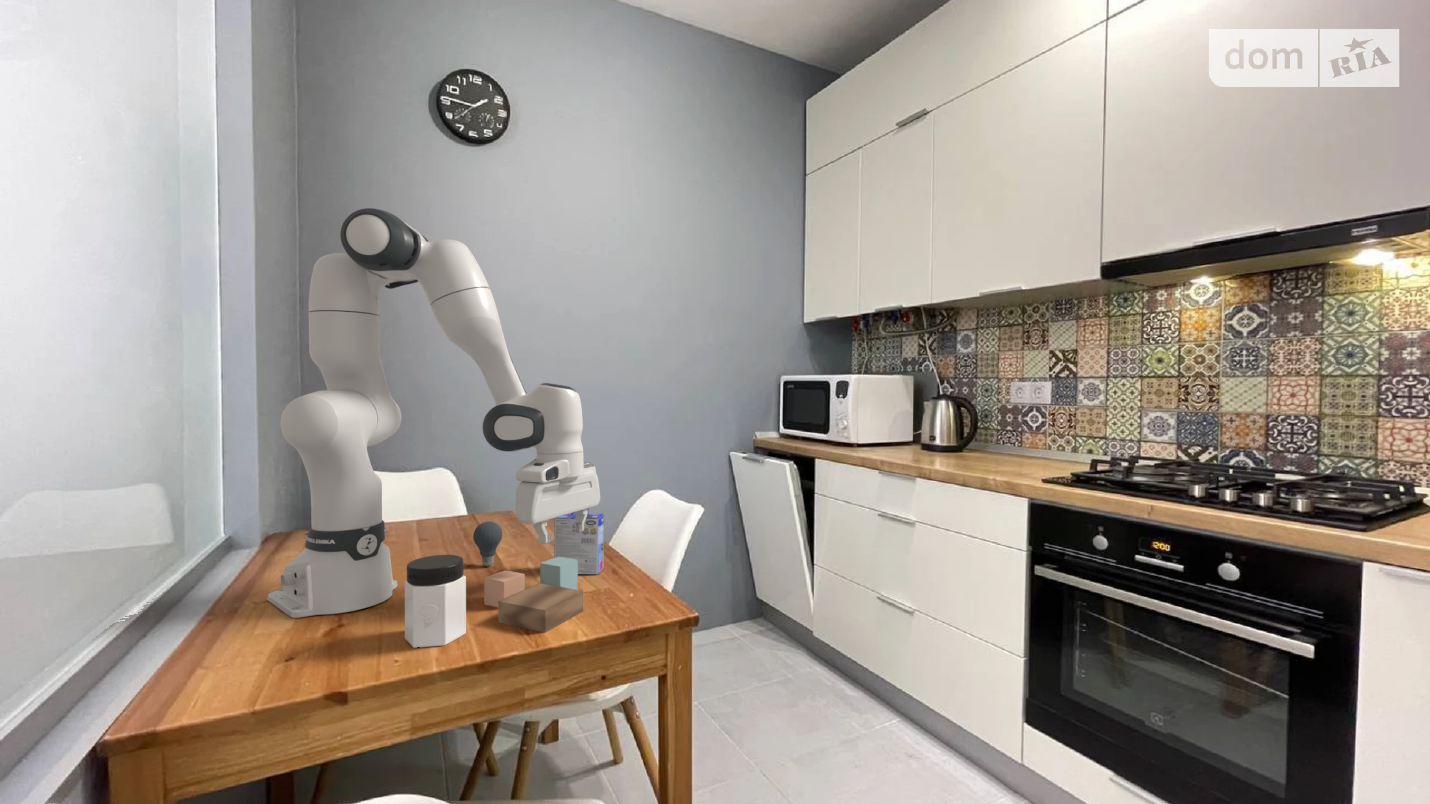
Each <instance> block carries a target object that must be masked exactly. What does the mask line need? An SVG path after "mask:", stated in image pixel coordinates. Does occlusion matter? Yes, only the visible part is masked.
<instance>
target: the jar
mask: <svg viewBox="0 0 1430 804" xmlns="http://www.w3.org/2000/svg"><path fill="white" fill-rule="evenodd" d="M466 633H467V577H466V575H464V558H463V557H462V556H460V555H456V554H436V555H429V556H424V557H420V558H416V559H413V560H411V561H410V562H408V563H407V564H406V578H405V580H404V639H405V640H406V641H407V642H408V643H409V644H410V645H411V647H412V648H414V649H418V648H417V647H420V648H428V647H429V648H430V647H432V648H433V647H441V646H446V645H448V644H450V643H452V642H454V641H455V640H457V639H459V638H461V637H462V636H464V635H466Z"/></svg>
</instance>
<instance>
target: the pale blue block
mask: <svg viewBox="0 0 1430 804" xmlns="http://www.w3.org/2000/svg"><path fill="white" fill-rule="evenodd" d="M578 575H579V574H578V560H576V559H570V558H564V557H555V558H554V557H552V558H550V559H548V560H545V561H541V562H540V564H539V583H540V584H546V585H552V586H558V587H564V588H570V589H576V590H579V586H578V583H579V582H578V580H579V579H578V577H579V576H578Z"/></svg>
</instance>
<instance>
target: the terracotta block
mask: <svg viewBox="0 0 1430 804" xmlns="http://www.w3.org/2000/svg"><path fill="white" fill-rule="evenodd" d="M525 576H526V574H525V573H521V572H516V571H511V570H505V569H504V570H502V571H500V572H497V573H493V574H491V575H487V576H484V578H483V589H484V590H483V592H484V593H483V594H484V595H483V597H484V599H483V601H484V602H483V604H484V605H486V606H490V607H494V608H497V609H498V601H500V600H502V599H504V598H507V597H509V596H511V595H513V594H516V593H518V592H520V591H522V590H525V589H526V585H525V584H526V577H525Z"/></svg>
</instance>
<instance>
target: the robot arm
mask: <svg viewBox="0 0 1430 804" xmlns="http://www.w3.org/2000/svg"><path fill="white" fill-rule="evenodd" d="M340 241H341V245H342V248H343V249H344V251H345V252H344V253H343V252H334V253H328V254H326V255H323V256H321V257H319V258H318V259H317V260H316V261H315V263H314V265H313V268H312V273H311V278H310V285H309V293H308V294H309V295H308V345H309V346H308V347H309V350H308V353H309V356H310V358H311V360H312V362H313V363H314V364H315V365H316V366H317V368H318V369H319V371H320V372H321V376H322V378H323V379H324V380H323V381H324V384H325V386H326V389H325V390H317V391H313V392H310V393H307V394H304V395H302V396H299V397H296V398H294V399H293V400H291V401H290V402H289V403H287V405H286V406H285V408H284V409H283V411H282V413H281V417H280V424H279V425H280V430H281V434H282V436H283V438H284V439H285V441H286V442H287V443H288V444H289V445H290V446H291V447H293V448H294V449H295V450H296V452H297V453H298V454H299V456H300V458H301V460H302V463H303V466H304V468H305V472H306V474H307V479H308V482H309V491H310V509H311V511H310V512H311V514H310V515H311V517H310V518H311V519H310V520H311V522H310V523H311V527H310V528H306V529H304V531H306V532H307V533H304V536H306V537H305V543H304V547H305V548H304V549H303V550H302V551H300V553H299V554H298V555H297V556H295V558H293V560H291V561H290V562H289V563H288V564H286V566H285V567H284V570H283V573H282V574H281V575H280V576H279V577H280V578H279V579H280V580H279V581H280V584H281V585H280V586H282V588H280V589H279V588H278V589H277V590H274V591H271V592H270V593H268V594H267V597H266V599H267V601H268V602H270V603H271V604H272V605H274V606H275V607H276V608H278V609H279V610H280V611H282V612H283V613H285V614H286V615H287V616H289V618H290V617H291V618H294V619H296V618H304V617H310V616H317V615H335V614H343V613H348V612H354V611H358V610H362V609H366V608H369V607H372V606H375V605H379V604H380V603H383V602H385V601H387V600H389V599H390V598H391V596H392V595H393V591H394V589H396V588H397V587H398V581H397V580H396V579H393V571H392V564H391V563H392V561H391V554H390V553H391V552H390V548H389V546H388V545H386V544H385V543H384V541H385V539H386V524H385V521H384V520H383V481H382V479H381V478H380V476H379V475H378V474H377V473H376V472H375V470H374V469H373V466H372V464H371V461H370V460H371V459H370V456H369V453H368V447H373V446H376V445H378V444H381V443H382V442H384V441H386V440H387V439H389V438H390V437H392V436H394V435H395V434H396V433H397V431H398V430H399V428H400V426H401V424H402V423H401V422H402V412H401V408H400V406H399V405H398V403H397V402H396V401H395V400H394V398H393V396H392V394H391V390H390V388H389V387H390V386H389V384H388V381H387V377H386V374H385V369H384V366H383V361H382V353H381V352H382V350H381V348H382V347H381V324H380V323H381V316H380V314H381V313H380V312H381V311H380V298H381V297H380V296H381V292H382V291H383V289H384V288H386V289H390V290H392V289H395V288H399V287H403V286H407V285H412V284H413V285H414V284H417V283H419V284H420V285H421V287H422V288H423V289H422V290H423V291H424V293H425V295H426V297H427V300H428V303H429V305H430V308H431V311H432V313H433V315H434V318H435V320H436V321H437V323H438V325H439V327H440V328H441V329H442V331H443V333H444V334H445V336H446V337H447V338H448V340H449V341H451V342H452V344H454V345H456V346H457V347H458V348H459V349H461V350H462V351H464V352H465V353H466V354H467V355H468V356H469V357H470V358H472V360H473V361H474V363H476V365H477V366H478V368H479V369H480V371H481V373H482V375H483V377H484V379H485V382H486V385H487V387H488V389H489V391H490V393H491V396H492V398H493V400H494V402H495V406H494V407H492V408H490V410H488V411H487V413H486V414H485V416H484V419H483V422H482V432H483V433H482V434H483V437H484V438H485V441H486V442H487V443H488V444H489V445H490V447H492V448H493V449H495V450H498V451H502V452H506V453H515V452H519V451H523V450H526V449H530V448H534V449H535V451H536V458H534V459H532V460H531V461H530V462H529V463H527V464H525V465H524V466H522V467H520V468H518V469H517V470H516V472H515V478H516V480H517V481H518V482H519V484H518V485H517V487H516V490H515V491H516V492H515V516H516V519H517V520H518V522H519V523H520V524H524V525H533V526H532V527H533V528H534V530H535V532H536V533H537V535H538V536H537V537H538V544H539V545H546V544H549V543H552V533H550V532H548V531H547V529H546V527H547V526H548V521H549V520H552V519H555V518H556V517H560V516H563V515H567V514H571V513H573V512H575V514H577V516H576V520H575V523H573V524H572V527H573V529H572V531H573V532H574V533H579V532H582V531H584V522H585V519H586V517H587V514H588V508H589V509H590V508H594V507H597V506H598V505H599V504H600V501H601V492H600V491H601V490H600V489H601V488H600V482H599V477H598V474H597V470H596V466H595V465H594V464H593V463H592V462H591V461H586V462H585V461H584V456H585V455H584V447H583V444H582V432H583V430H584V421H583V419H584V418H583V410H582V409H583V408H582V401H581V397H580V394H579V392H577V390H576V389H574V388H573V387H571V386H567V385H562V384H558V383H551V382H549V383H548V382H543V383H539V385H537V386H536V387H534V389H531V390H530V391H529V392H526V389H525V387H524V386H523V383H522V381H521V378H520V375H519V374H518V372H517V370H516V367H515V364H514V362H513V360H512V358H511V355H510V353H509V350H508V347H507V343H506V339H505V338H506V337H505V334H504V332H503V331H504V330H503V327H502V323H501V318H500V315H499V311H498V307H497V305H496V301H495V298H494V295H493V293H492V290H491V287H490V285H489V283H488V281H487V278H486V276H485V274H484V272H483V270H482V268H481V266H480V264H479V263H478V262H477V259H476V258H475V256H474V255H473V253H472V252H471V250H470V248H469V247H468V246H467V245H466V244H465V243H463V242H461V241H459V240H456V239H451V238H441V239H437V240H434V241H429V240H428V239H427V237H425V236H424V235H423V234H421V233H420V231H418V230H417V229H416V228H415V227H414V226H412V225H411V224H410V223H408V222H406V221H404V220H402V219H401V218H399V217H398V216H397V215H395V214H393V213H391V212H389V211H387V210H383V209H381V208H372V207H371V208H369V207H368V208H360V209H358V210H357V209H356V210H355V211H353V212H352V213H350V214H349V215H348V216H347V217H346V218H345V219H344V221H343V222H342V225H341V228H340Z"/></svg>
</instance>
